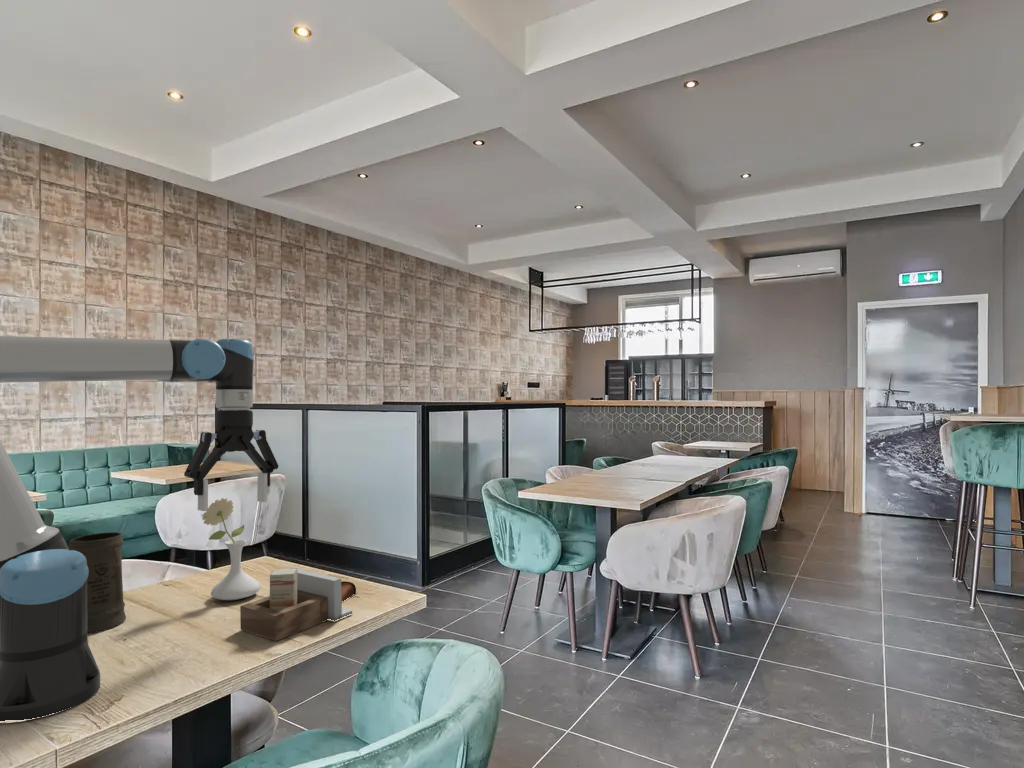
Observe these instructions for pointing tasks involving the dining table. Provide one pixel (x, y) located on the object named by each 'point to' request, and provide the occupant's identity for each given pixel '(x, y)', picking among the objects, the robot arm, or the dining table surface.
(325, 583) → the wall
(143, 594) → the dining table surface
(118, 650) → the dining table surface
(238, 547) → the flower in vase
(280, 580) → the skincare box
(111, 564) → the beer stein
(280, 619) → the socket block
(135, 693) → the dining table surface
